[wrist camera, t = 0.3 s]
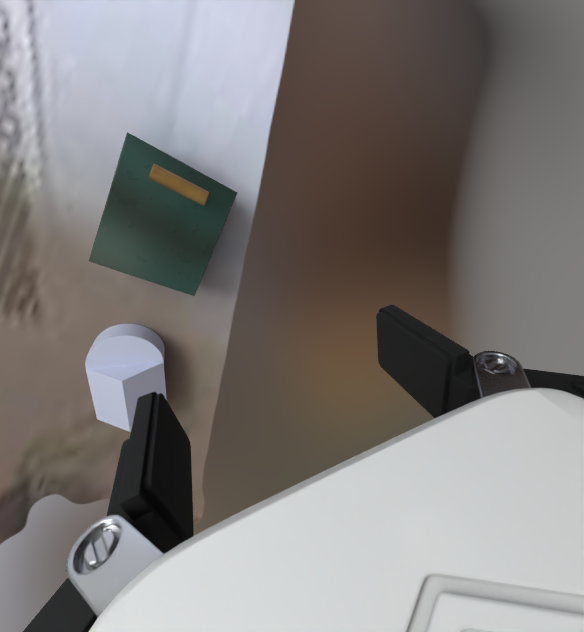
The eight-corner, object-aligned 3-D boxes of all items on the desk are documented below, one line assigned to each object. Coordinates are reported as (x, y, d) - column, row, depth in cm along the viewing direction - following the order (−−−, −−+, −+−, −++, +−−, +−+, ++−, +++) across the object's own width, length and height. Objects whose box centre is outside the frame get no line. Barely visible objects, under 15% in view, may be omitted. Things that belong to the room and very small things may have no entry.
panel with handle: (129, 133, 27) (118, 125, 22) (235, 192, 32) (244, 195, 28) (91, 258, 30) (75, 273, 26) (193, 292, 36) (195, 310, 31)
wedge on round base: (168, 394, 45) (162, 322, 40) (166, 426, 40) (159, 346, 34) (102, 402, 42) (86, 325, 37) (90, 438, 36) (69, 353, 31)
